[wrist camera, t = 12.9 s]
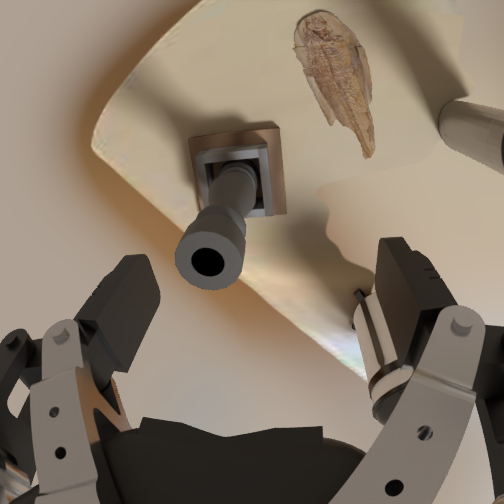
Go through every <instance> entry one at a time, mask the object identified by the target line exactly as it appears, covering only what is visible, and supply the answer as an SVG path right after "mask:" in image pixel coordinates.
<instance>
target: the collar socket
mask: <svg viewBox="0 0 504 504" xmlns="http://www.w3.org/2000/svg"><path fill="white" fill-rule="evenodd" d="M188 141H189V147H190V153H191V159H192V164H193V170H194V175H195V181H196V186H197V192H198V197H199V202H200V207H201V211H202V210H203V209H204V208H205V207H206V206H209V202H208V191H209V189H210V187H211V184H212V183H213V181H214V180H216V179H217V176H218V174H219V172H220V170H221V168H222V167H223V165H224V164H225V163H226V162H227V161H230V160H239V159H248V160H250V161H252V162H253V163H254V164H255V165H256V166H257V168H258V171H259V174H260V175H259V184H258V189H257V190H256V201H255V205H254V207H253V208H252V210H251V212H250V213H249V214H248V215H247V216H246V217H245V218H251V217H264V216H273V215H279V214H287V211H286V198H285V185H284V172H283V161H282V150H281V139H280V129H279V127H278V128H266V129H255V130H245V131H236V132H228V133H220V134H213V135H206V136H199V137H193V138H190V139H188Z"/></svg>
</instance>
